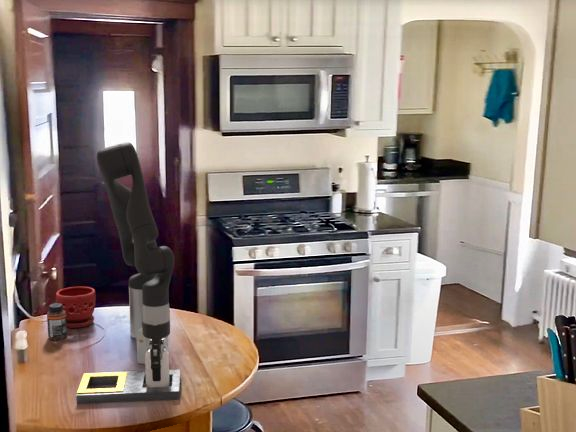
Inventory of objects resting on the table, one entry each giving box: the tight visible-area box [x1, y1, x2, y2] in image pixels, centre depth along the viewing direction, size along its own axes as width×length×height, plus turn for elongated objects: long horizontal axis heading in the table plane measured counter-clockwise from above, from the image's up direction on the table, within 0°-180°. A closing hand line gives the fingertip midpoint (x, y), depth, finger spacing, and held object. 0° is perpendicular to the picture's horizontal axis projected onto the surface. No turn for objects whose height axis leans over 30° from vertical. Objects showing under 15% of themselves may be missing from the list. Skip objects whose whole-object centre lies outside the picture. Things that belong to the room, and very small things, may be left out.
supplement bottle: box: [46, 302, 68, 341], centre depth 232 cm, size 6×6×11 cm
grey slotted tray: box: [75, 369, 181, 405], centre depth 196 cm, size 27×14×3 cm, turn 97°
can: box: [144, 346, 170, 388], centre depth 196 cm, size 6×6×12 cm
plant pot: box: [55, 286, 96, 329], centre depth 245 cm, size 13×13×12 cm
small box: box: [135, 328, 169, 365], centre depth 214 cm, size 8×6×10 cm
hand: (157, 375), depth 196 cm, fingers closed on can, 6 cm apart
